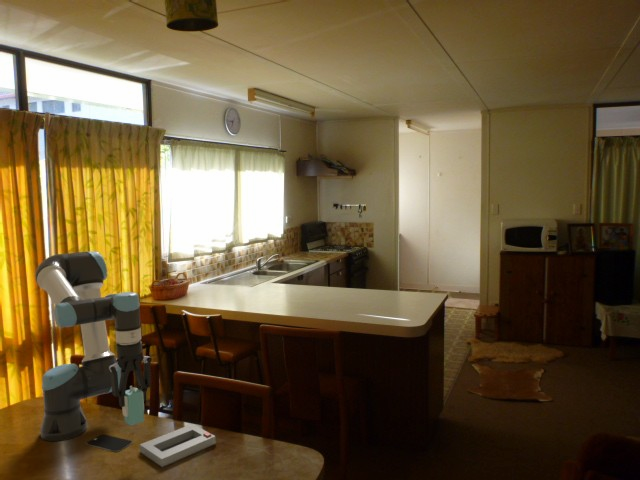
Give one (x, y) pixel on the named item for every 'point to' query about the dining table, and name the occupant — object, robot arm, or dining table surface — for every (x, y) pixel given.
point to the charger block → (134, 406)
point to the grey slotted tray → (177, 445)
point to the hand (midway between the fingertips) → (133, 412)
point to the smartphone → (109, 443)
